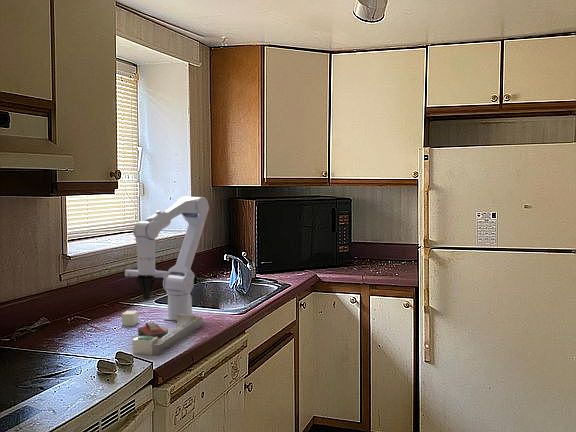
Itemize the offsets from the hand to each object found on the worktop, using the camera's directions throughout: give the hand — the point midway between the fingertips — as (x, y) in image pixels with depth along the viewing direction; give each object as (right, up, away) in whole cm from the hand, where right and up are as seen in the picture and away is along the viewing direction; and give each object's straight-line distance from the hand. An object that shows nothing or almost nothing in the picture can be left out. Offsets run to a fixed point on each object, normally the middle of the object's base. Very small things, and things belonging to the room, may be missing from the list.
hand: (146, 298), depth 202 cm
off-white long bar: (+10, -11, -12) cm, 19 cm away
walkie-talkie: (+4, -11, -8) cm, 14 cm away
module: (-7, -10, +6) cm, 13 cm away
